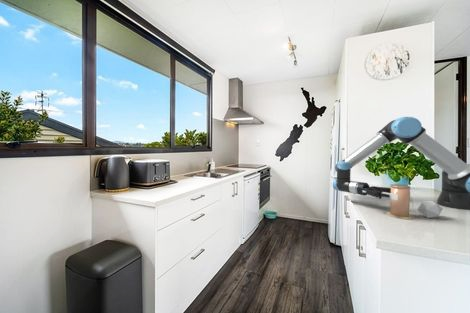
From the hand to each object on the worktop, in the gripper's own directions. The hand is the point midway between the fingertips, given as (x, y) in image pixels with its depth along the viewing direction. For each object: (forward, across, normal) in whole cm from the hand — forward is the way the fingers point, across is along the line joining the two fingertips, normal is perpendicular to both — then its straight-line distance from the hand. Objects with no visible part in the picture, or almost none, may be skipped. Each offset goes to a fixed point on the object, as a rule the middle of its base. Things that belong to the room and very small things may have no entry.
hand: (403, 195), depth 98 cm
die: (+7, -10, -11) cm, 16 cm away
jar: (-2, 0, -10) cm, 10 cm away
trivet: (-2, 0, -11) cm, 11 cm away
